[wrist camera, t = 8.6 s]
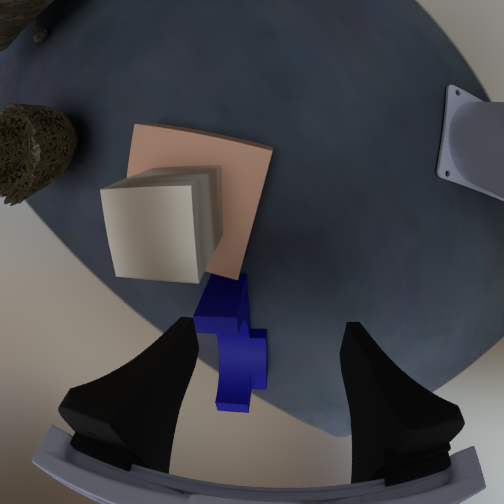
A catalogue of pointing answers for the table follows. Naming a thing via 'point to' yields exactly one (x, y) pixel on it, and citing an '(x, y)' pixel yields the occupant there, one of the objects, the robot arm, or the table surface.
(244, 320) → the blue stepped block
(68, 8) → the table surface
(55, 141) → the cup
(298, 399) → the table surface
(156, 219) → the ivory block
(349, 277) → the table surface
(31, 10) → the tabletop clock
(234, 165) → the terracotta block
